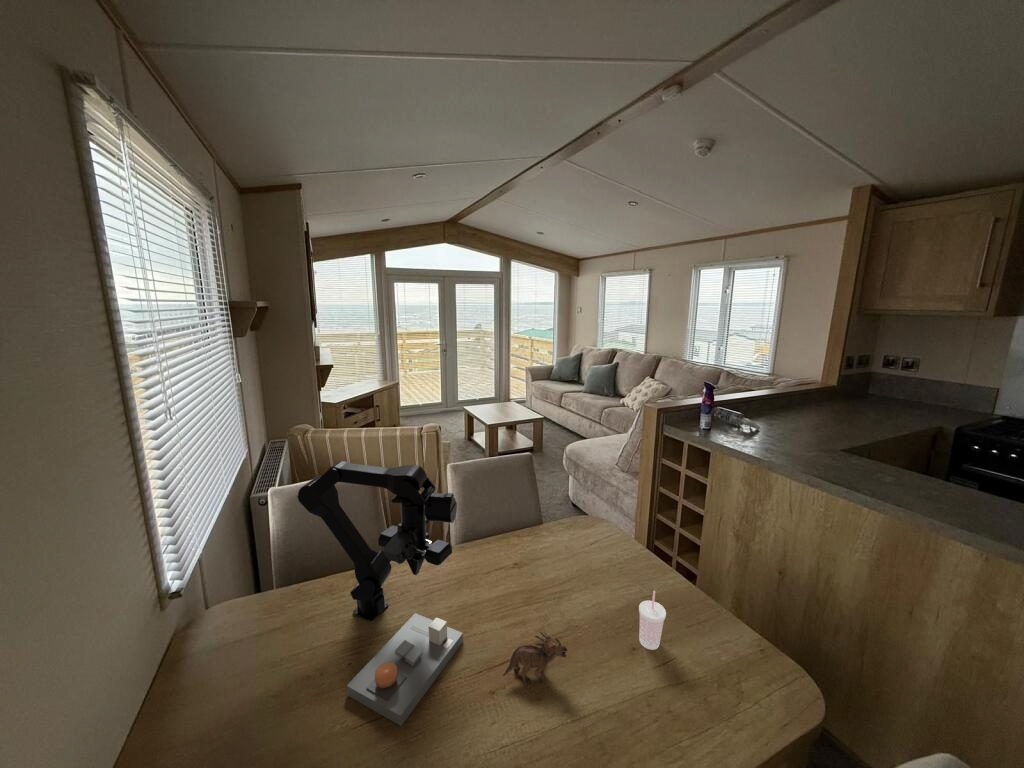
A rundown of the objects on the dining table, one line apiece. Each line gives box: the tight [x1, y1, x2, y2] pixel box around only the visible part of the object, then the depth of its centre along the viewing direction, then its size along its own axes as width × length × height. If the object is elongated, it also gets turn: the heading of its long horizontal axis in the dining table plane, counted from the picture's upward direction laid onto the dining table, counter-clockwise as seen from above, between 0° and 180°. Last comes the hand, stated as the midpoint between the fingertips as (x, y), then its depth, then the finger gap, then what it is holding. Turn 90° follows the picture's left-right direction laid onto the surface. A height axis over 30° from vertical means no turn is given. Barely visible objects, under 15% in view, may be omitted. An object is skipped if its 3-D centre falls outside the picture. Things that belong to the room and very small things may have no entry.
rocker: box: [395, 640, 423, 666], centre depth 92 cm, size 5×3×1 cm, turn 65°
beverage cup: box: [638, 590, 667, 651], centre depth 98 cm, size 6×6×14 cm
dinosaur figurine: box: [502, 631, 568, 686], centre depth 91 cm, size 14×6×9 cm, turn 99°
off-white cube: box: [429, 617, 448, 646], centre depth 97 cm, size 3×3×4 cm
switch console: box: [346, 612, 464, 727], centre depth 92 cm, size 14×22×3 cm, turn 154°
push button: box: [375, 662, 398, 688], centre depth 85 cm, size 4×4×3 cm
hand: (415, 574), depth 105 cm, fingers closed
